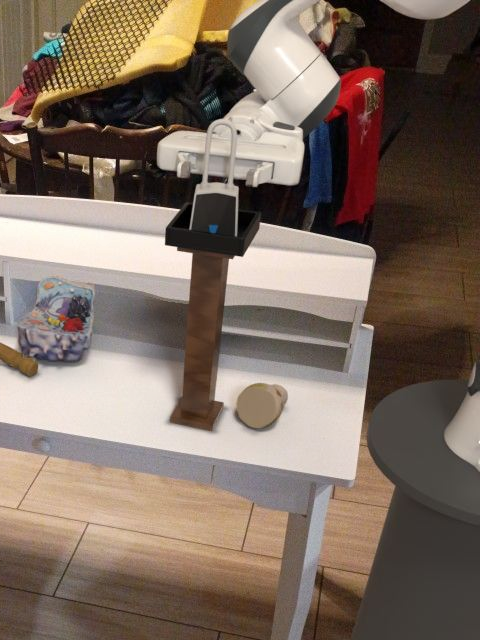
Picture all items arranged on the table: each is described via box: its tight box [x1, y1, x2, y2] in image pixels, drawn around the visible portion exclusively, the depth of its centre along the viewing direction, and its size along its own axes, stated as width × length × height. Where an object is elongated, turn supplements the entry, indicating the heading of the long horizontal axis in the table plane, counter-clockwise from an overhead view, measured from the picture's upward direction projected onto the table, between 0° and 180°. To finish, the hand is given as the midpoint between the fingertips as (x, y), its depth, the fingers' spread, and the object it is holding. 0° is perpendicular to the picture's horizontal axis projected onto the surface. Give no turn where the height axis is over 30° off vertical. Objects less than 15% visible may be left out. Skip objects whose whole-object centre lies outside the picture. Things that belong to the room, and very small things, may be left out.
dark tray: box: [164, 201, 262, 258], centre depth 118 cm, size 11×10×2 cm
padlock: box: [189, 118, 240, 236], centre depth 114 cm, size 7×4×15 cm, turn 81°
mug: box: [236, 382, 289, 429], centre depth 136 cm, size 8×10×10 cm
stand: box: [169, 247, 236, 432], centre depth 129 cm, size 8×8×30 cm
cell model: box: [16, 275, 96, 363], centre depth 152 cm, size 13×11×20 cm
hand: (216, 176), depth 113 cm, fingers open, 8 cm apart
